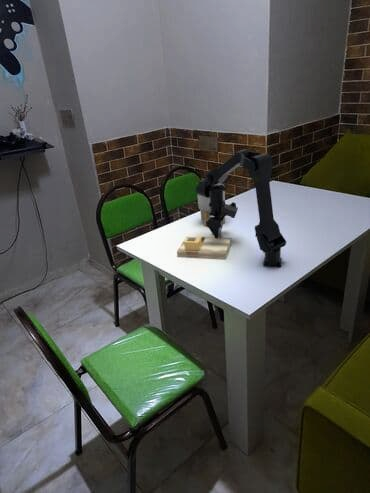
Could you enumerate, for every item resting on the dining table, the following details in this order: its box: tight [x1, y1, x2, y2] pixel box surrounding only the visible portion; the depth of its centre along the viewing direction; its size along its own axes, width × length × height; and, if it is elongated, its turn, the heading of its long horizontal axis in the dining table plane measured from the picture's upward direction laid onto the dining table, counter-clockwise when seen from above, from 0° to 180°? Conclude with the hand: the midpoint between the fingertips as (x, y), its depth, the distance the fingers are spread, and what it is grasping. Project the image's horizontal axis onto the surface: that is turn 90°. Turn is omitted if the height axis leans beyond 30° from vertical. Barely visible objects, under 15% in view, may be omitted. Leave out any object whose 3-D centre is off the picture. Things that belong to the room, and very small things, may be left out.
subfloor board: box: [176, 236, 232, 260], centre depth 144 cm, size 14×20×2 cm
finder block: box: [184, 236, 202, 250], centre depth 141 cm, size 5×6×4 cm
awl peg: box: [218, 228, 223, 238], centre depth 150 cm, size 3×3×8 cm
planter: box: [196, 183, 226, 227], centre depth 167 cm, size 13×13×18 cm
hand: (218, 233), depth 150 cm, fingers open, 9 cm apart
